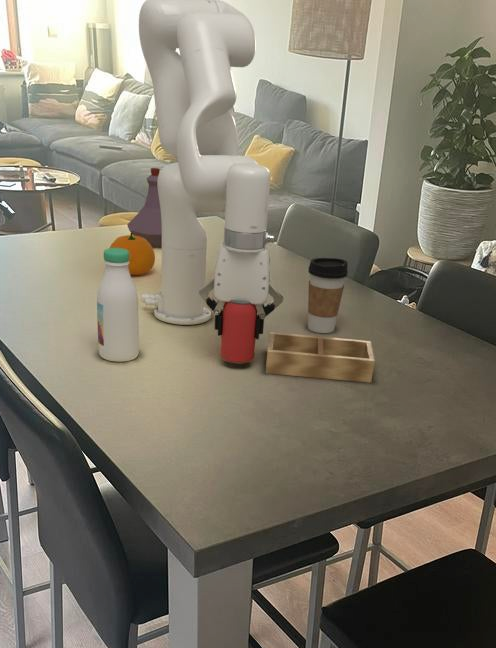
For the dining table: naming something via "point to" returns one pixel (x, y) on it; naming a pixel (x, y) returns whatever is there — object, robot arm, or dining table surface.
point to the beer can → (238, 332)
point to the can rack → (320, 357)
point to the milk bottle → (117, 309)
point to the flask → (149, 214)
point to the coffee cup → (325, 292)
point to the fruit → (136, 253)
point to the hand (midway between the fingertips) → (238, 334)
